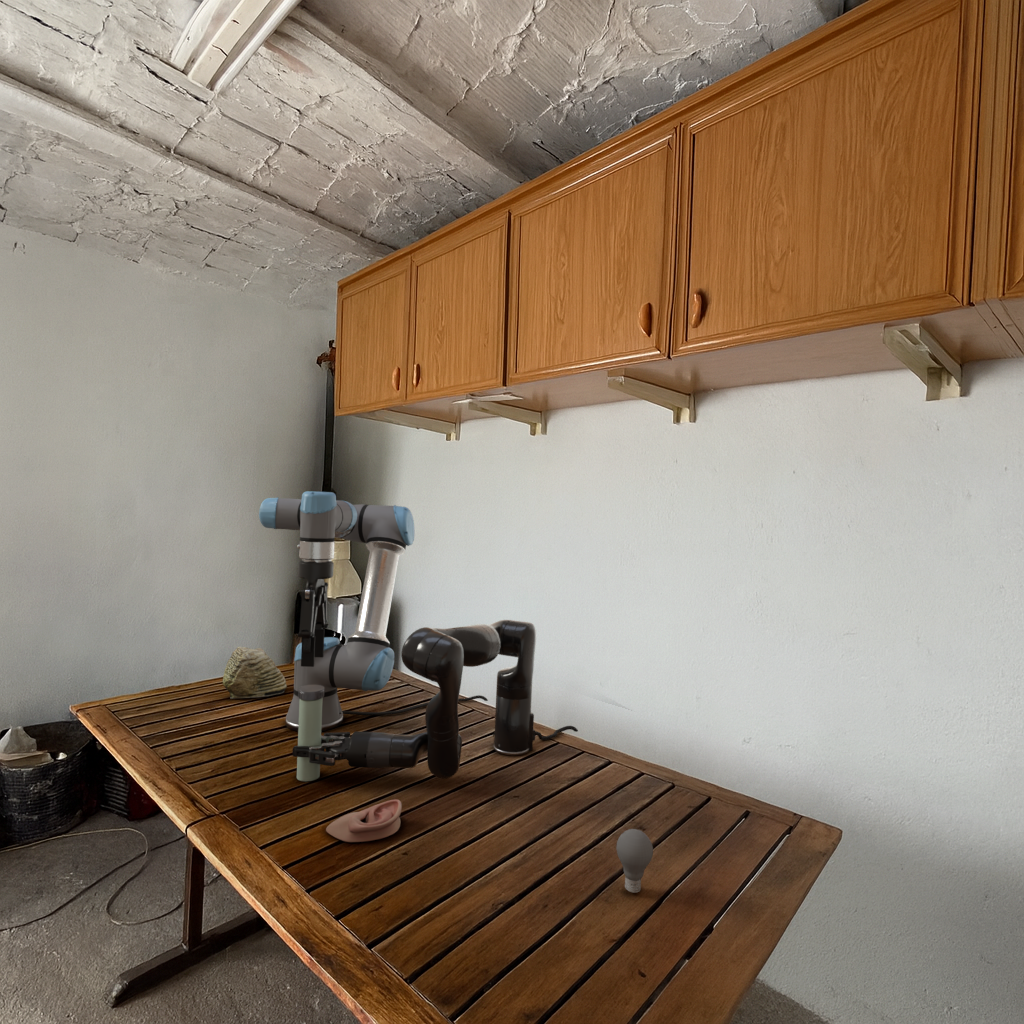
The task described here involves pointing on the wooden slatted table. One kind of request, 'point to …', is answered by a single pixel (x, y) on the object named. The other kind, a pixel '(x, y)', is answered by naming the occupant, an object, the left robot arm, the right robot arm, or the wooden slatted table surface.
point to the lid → (311, 692)
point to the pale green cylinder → (309, 737)
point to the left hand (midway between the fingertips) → (312, 661)
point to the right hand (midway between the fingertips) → (297, 746)
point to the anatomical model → (368, 823)
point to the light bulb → (634, 857)
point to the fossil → (252, 674)
